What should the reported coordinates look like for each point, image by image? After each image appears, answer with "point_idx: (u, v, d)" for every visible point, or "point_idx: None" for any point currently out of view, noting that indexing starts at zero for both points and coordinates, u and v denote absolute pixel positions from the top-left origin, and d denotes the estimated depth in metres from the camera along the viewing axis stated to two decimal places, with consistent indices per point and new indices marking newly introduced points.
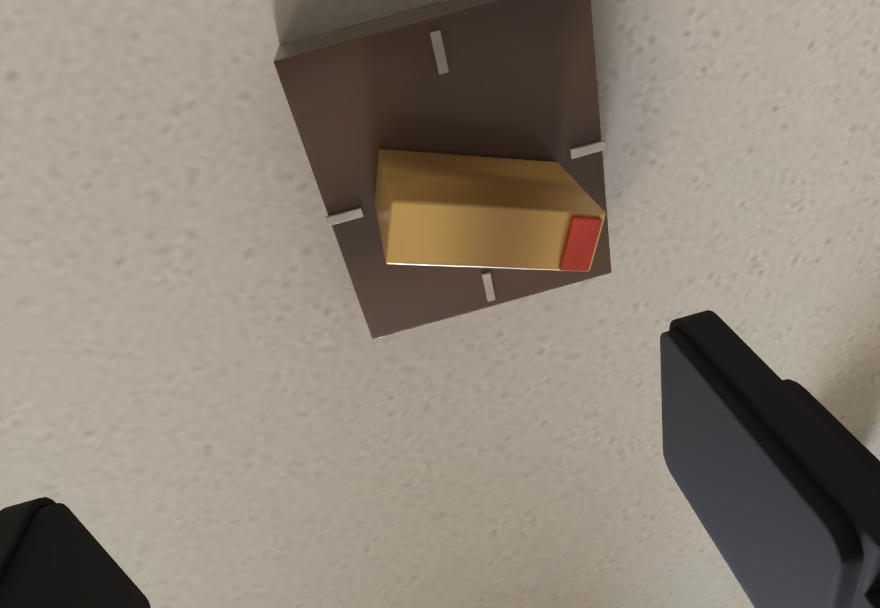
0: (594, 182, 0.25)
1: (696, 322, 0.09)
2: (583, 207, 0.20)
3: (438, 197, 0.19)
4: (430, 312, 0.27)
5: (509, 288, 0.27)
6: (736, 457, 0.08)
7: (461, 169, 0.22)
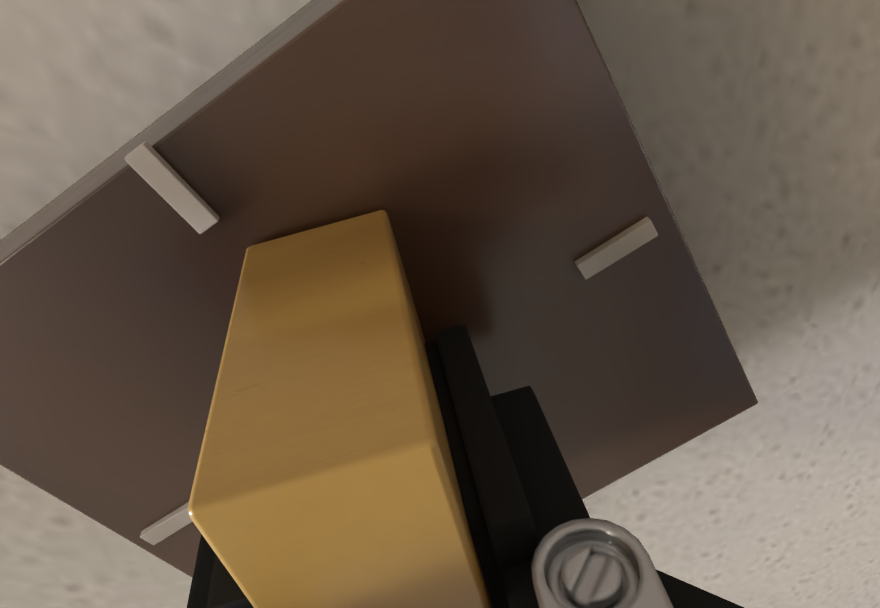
0: None
1: (446, 334, 0.10)
2: None
3: (461, 507, 0.06)
4: (34, 457, 0.11)
5: (192, 549, 0.13)
6: None
7: None
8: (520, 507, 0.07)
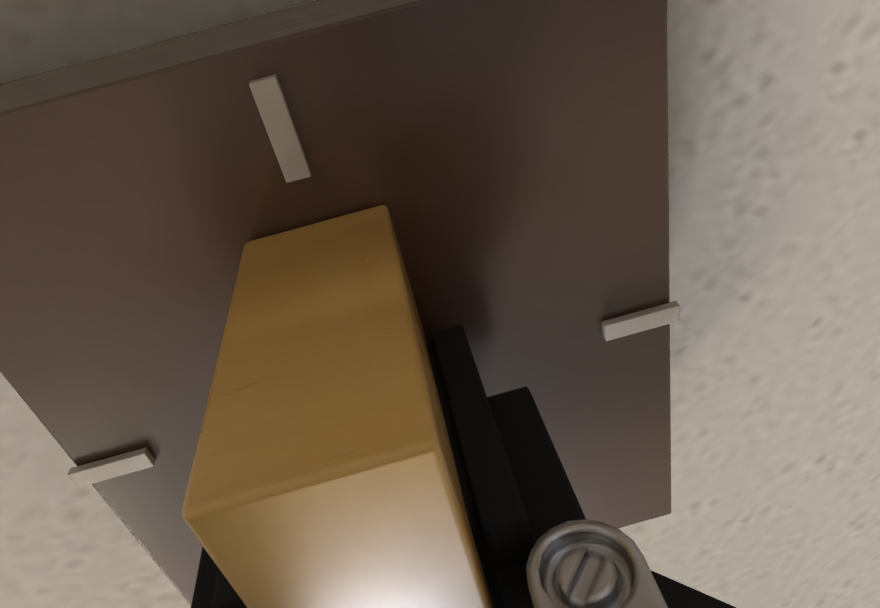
0: (650, 376, 0.12)
1: (443, 335, 0.10)
2: None
3: (463, 509, 0.06)
4: None
5: None
6: None
7: None
8: (515, 508, 0.07)
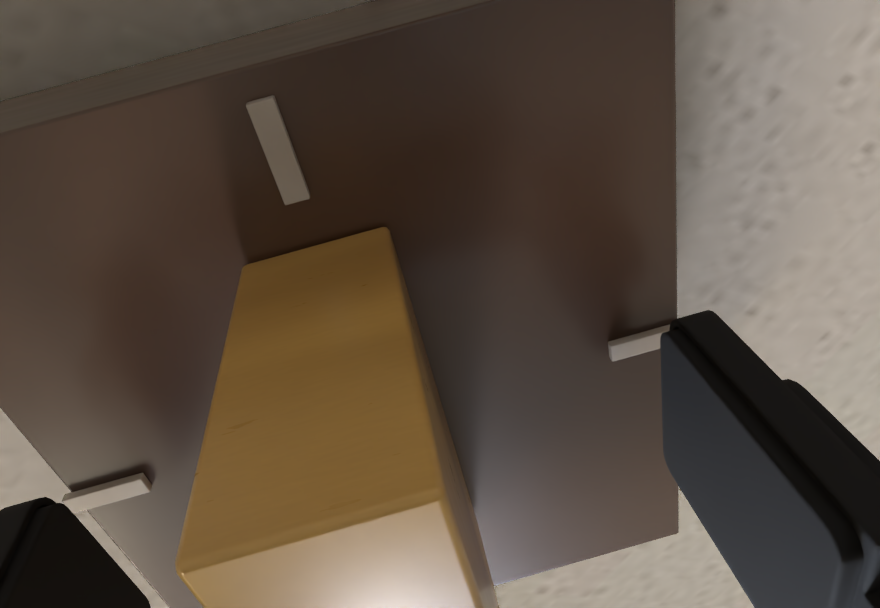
0: (657, 396, 0.12)
1: (696, 322, 0.09)
2: None
3: (469, 552, 0.06)
4: None
5: None
6: (736, 457, 0.08)
7: (448, 441, 0.09)
8: None
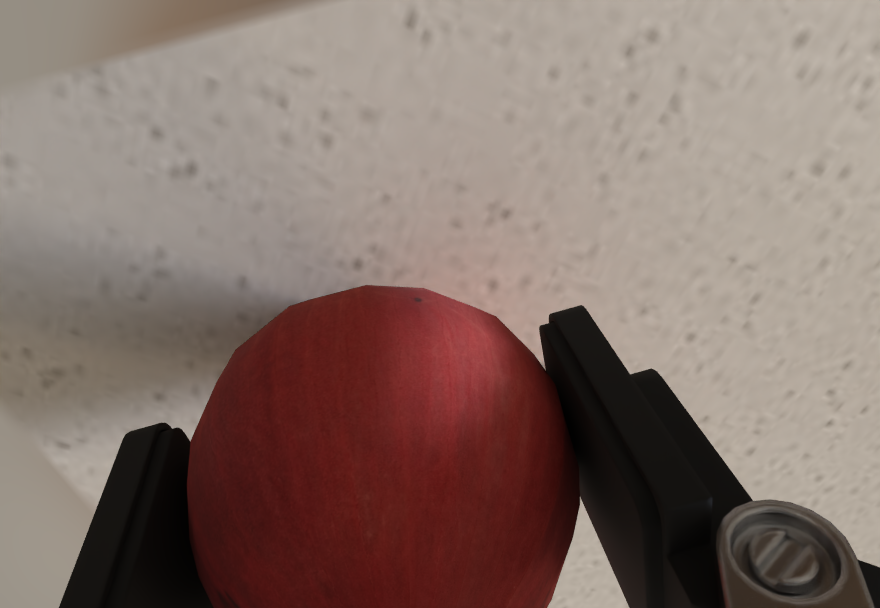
0: None
1: (566, 316, 0.09)
2: None
3: None
4: None
5: None
6: (587, 438, 0.08)
7: None
8: (695, 488, 0.06)
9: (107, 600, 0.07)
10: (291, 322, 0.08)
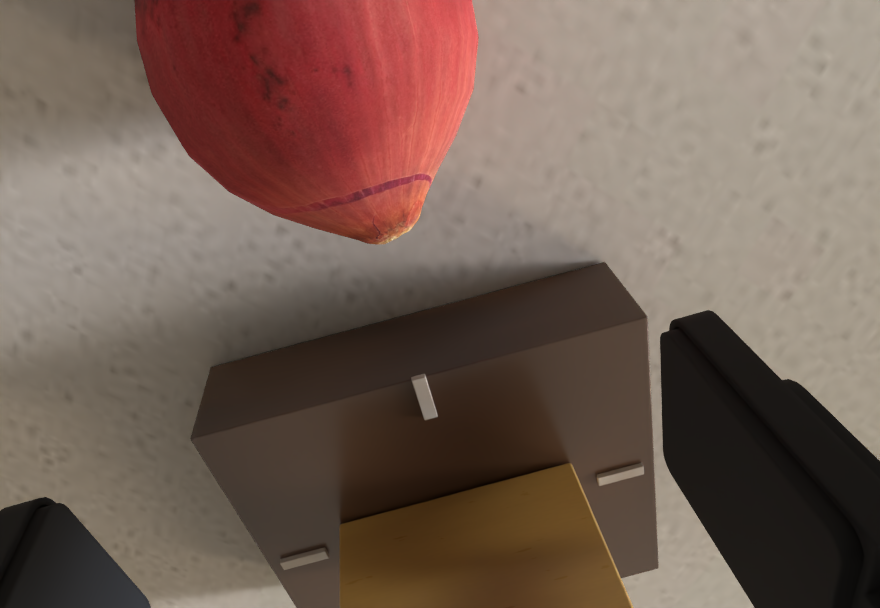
0: (478, 375, 0.16)
1: (696, 322, 0.09)
2: None
3: None
4: (640, 523, 0.20)
5: (631, 448, 0.18)
6: (736, 457, 0.08)
7: (440, 550, 0.16)
8: None
9: None
10: None
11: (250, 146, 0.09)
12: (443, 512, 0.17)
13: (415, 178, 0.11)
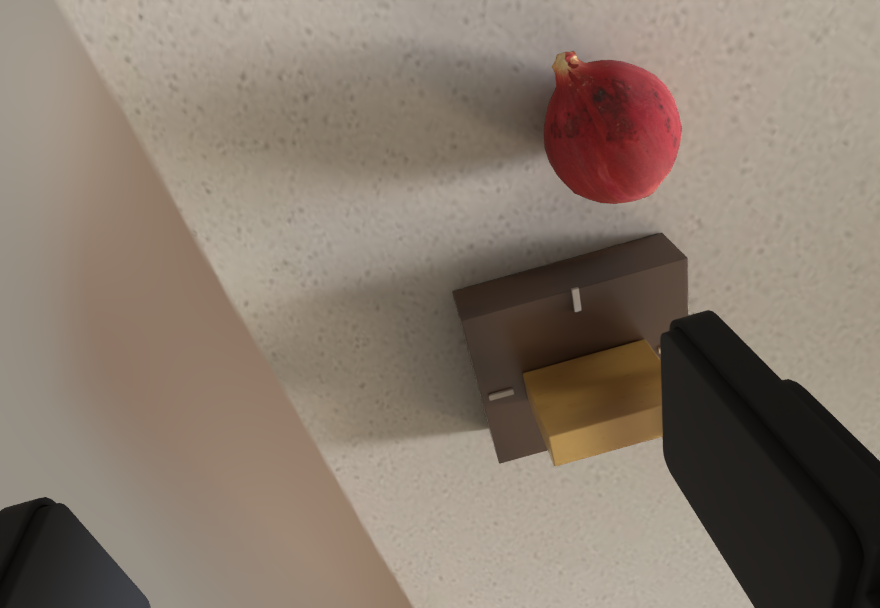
0: (603, 288, 0.32)
1: (696, 322, 0.09)
2: None
3: (575, 421, 0.30)
4: None
5: None
6: (736, 457, 0.08)
7: (581, 379, 0.32)
8: None
9: None
10: None
11: (665, 166, 0.26)
12: (579, 364, 0.33)
13: None
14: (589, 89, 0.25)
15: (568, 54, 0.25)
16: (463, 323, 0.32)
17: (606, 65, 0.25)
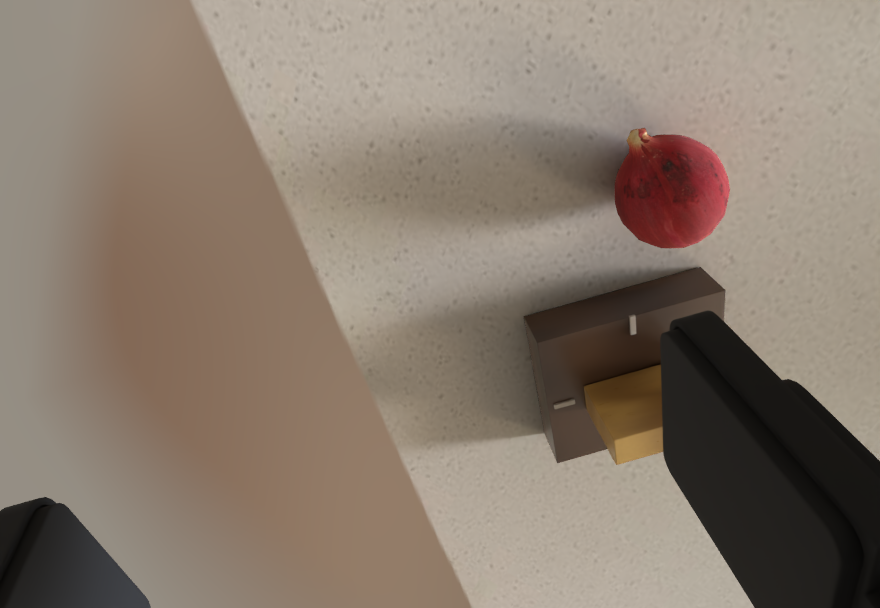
0: (655, 315, 0.38)
1: (696, 322, 0.09)
2: None
3: (635, 427, 0.36)
4: None
5: None
6: (736, 457, 0.08)
7: (636, 391, 0.38)
8: None
9: None
10: None
11: (716, 221, 0.32)
12: (632, 378, 0.39)
13: None
14: (660, 161, 0.31)
15: (640, 131, 0.32)
16: (538, 344, 0.38)
17: (671, 140, 0.31)
